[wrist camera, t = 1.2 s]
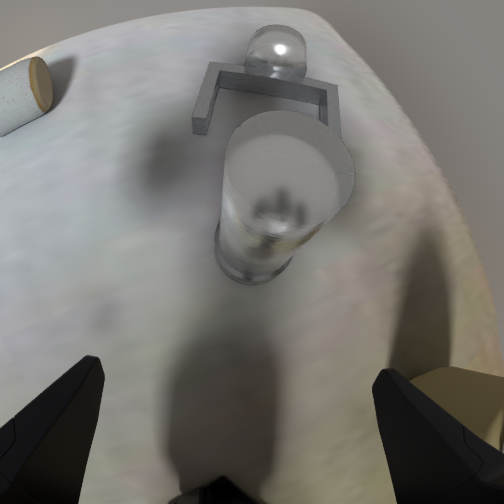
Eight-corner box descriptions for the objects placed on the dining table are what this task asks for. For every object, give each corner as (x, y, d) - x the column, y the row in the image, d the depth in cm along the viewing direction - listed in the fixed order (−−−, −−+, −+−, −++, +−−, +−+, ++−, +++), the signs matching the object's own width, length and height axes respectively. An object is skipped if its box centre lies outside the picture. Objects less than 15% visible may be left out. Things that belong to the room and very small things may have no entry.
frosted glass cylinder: (302, 253, 24) (385, 179, 12) (247, 300, 23) (289, 265, 10) (255, 199, 25) (293, 88, 12) (199, 242, 23) (186, 147, 11)
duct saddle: (331, 157, 27) (357, 119, 21) (193, 133, 26) (190, 88, 20) (328, 77, 30) (345, 40, 24) (216, 57, 29) (218, 16, 23)
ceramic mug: (56, 122, 25) (28, 74, 17) (-2, 153, 23) (-36, 114, 16) (59, 68, 27) (41, 25, 19) (8, 94, 25) (-15, 57, 18)
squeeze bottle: (453, 370, 23) (608, 369, 6) (429, 445, 21) (571, 490, 4) (395, 356, 23) (585, 357, 6) (366, 442, 21) (526, 524, 3)
